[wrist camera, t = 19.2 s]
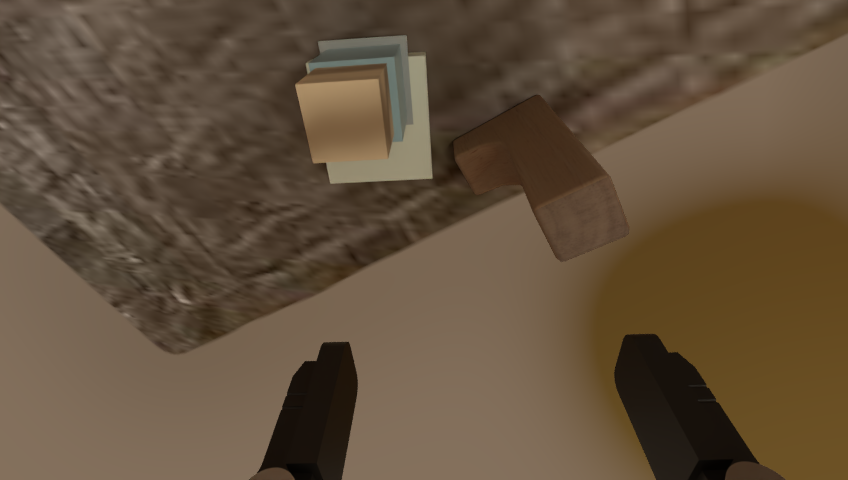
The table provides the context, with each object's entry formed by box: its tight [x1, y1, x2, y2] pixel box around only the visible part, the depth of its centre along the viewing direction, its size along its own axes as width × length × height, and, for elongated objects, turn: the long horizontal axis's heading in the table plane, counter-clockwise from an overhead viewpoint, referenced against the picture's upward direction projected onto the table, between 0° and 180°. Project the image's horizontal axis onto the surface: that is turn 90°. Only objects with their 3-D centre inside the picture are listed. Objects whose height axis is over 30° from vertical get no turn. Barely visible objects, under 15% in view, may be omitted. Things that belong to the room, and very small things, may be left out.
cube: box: [308, 44, 407, 142], centre depth 32 cm, size 6×6×6 cm
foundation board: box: [306, 35, 432, 184], centre depth 37 cm, size 13×10×2 cm
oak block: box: [295, 63, 394, 163], centre depth 28 cm, size 5×5×5 cm
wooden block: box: [453, 95, 629, 262], centre depth 32 cm, size 9×4×18 cm, turn 120°
